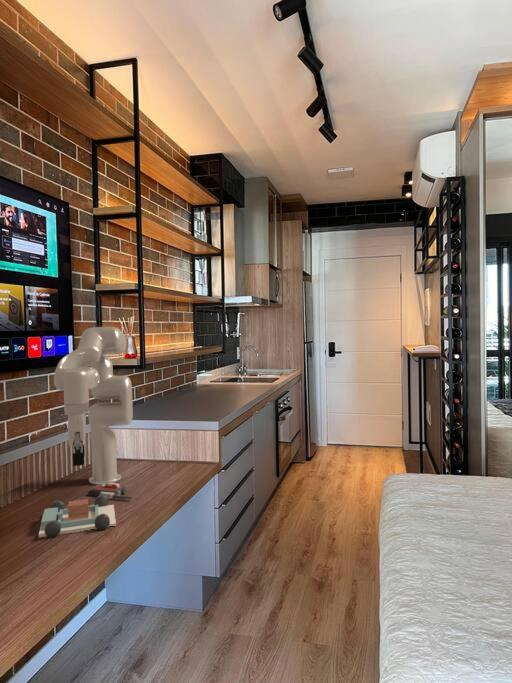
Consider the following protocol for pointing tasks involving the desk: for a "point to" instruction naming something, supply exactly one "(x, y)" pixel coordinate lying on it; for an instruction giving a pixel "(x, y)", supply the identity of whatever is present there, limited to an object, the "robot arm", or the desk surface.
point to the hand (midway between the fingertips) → (79, 461)
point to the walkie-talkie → (109, 491)
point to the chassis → (58, 520)
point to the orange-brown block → (78, 510)
